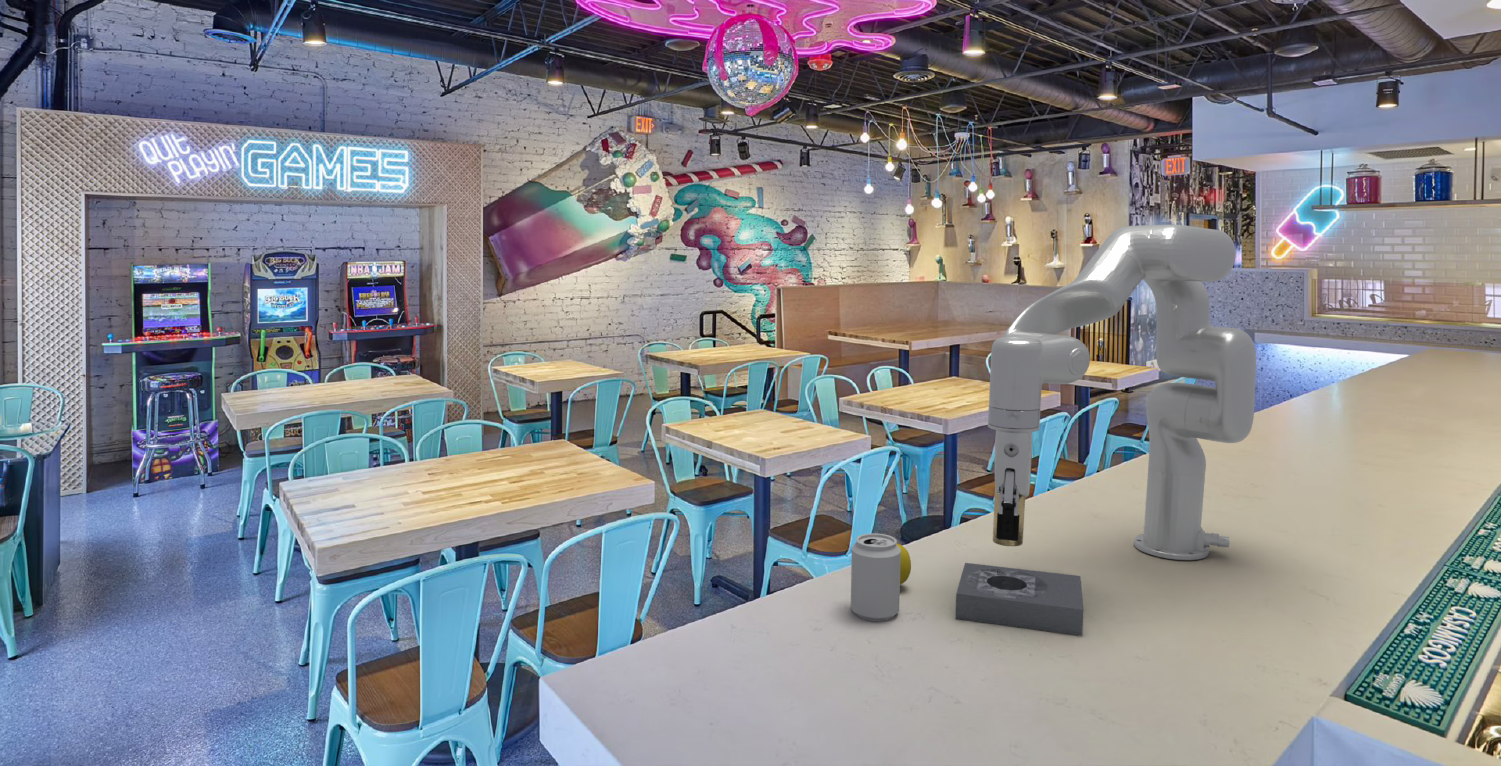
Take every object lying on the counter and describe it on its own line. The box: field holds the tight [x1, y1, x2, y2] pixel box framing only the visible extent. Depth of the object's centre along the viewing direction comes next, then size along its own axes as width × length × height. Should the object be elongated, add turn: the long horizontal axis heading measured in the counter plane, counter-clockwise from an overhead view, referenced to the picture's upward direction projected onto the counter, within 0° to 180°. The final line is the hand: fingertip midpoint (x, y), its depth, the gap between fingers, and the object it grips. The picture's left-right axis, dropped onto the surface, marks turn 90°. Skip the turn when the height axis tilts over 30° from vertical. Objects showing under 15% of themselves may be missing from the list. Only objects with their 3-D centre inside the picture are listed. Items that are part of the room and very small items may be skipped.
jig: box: [954, 562, 1084, 637], centre depth 132 cm, size 18×14×4 cm
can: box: [850, 533, 901, 622], centre depth 130 cm, size 8×8×12 cm
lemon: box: [896, 542, 912, 586], centre depth 140 cm, size 6×6×8 cm
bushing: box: [992, 489, 1026, 547], centre depth 130 cm, size 4×4×8 cm
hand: (1008, 533), depth 131 cm, fingers closed on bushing, 4 cm apart
